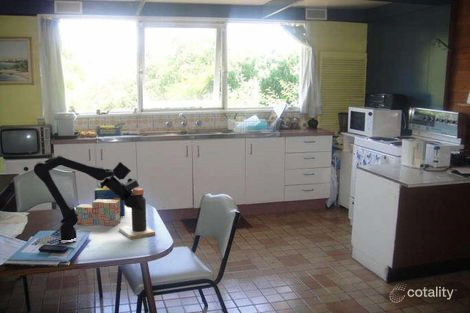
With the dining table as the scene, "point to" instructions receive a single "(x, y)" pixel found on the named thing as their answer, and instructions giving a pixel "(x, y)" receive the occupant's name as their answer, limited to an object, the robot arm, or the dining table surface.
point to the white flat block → (135, 235)
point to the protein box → (108, 197)
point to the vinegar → (139, 212)
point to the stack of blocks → (99, 213)
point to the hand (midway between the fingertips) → (140, 207)
